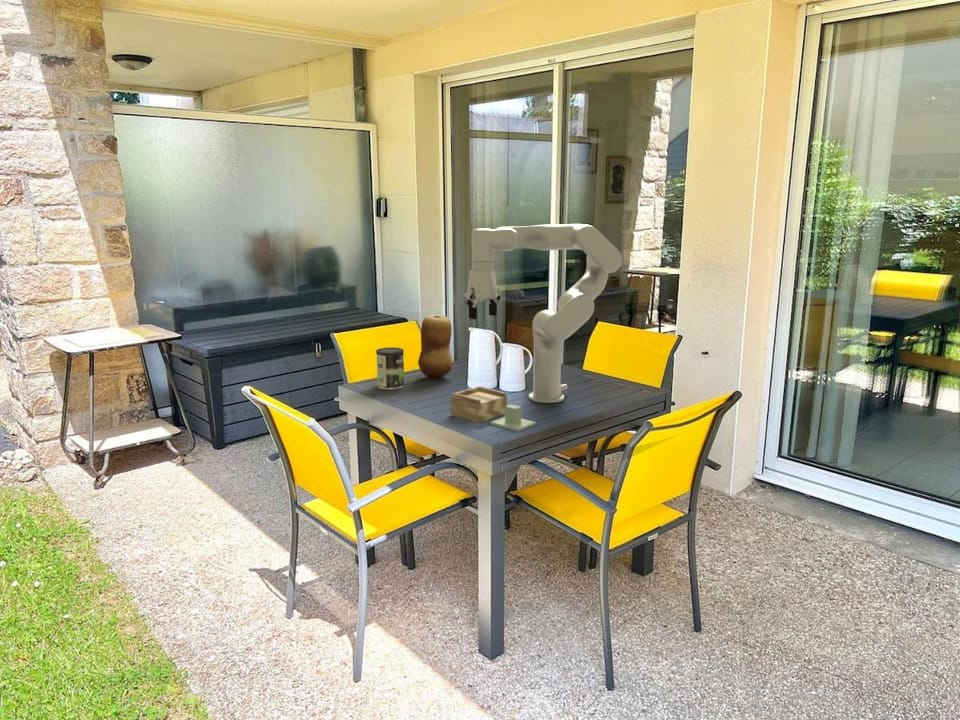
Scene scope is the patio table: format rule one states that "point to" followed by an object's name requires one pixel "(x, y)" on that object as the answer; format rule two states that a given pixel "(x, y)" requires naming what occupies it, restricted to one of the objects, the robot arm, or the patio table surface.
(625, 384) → the patio table surface
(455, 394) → the box
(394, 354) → the coffee can
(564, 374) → the patio table surface
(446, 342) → the butternut squash
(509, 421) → the cover plate
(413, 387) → the patio table surface
